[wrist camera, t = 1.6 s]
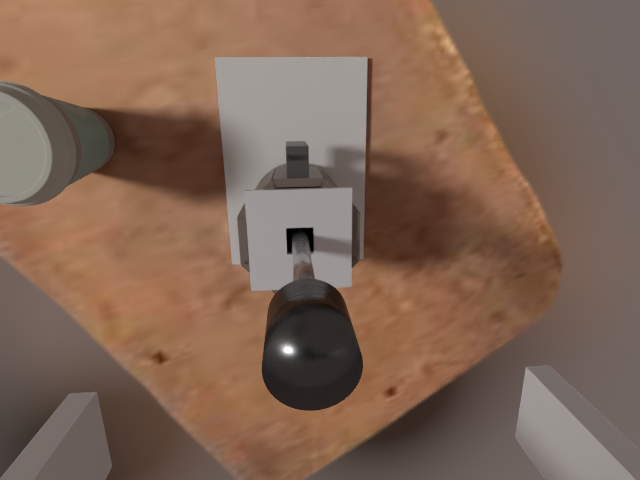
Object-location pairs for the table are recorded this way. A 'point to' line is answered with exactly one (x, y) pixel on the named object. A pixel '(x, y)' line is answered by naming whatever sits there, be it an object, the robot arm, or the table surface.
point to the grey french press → (298, 224)
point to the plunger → (309, 339)
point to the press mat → (291, 123)
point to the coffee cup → (46, 145)
